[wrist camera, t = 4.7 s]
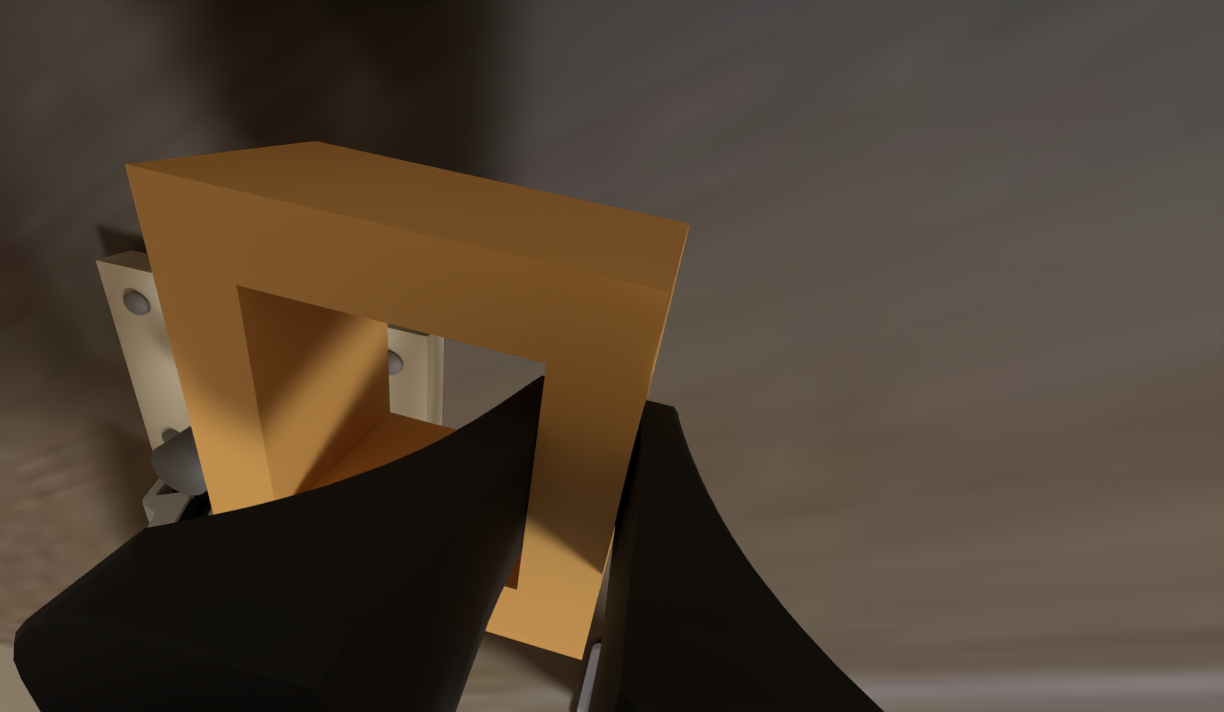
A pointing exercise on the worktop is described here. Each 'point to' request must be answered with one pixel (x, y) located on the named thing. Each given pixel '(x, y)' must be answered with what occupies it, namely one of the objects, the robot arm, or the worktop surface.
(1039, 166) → the worktop surface
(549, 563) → the orange square frame
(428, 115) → the worktop surface
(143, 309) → the keeper board
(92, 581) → the robot arm
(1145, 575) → the worktop surface
